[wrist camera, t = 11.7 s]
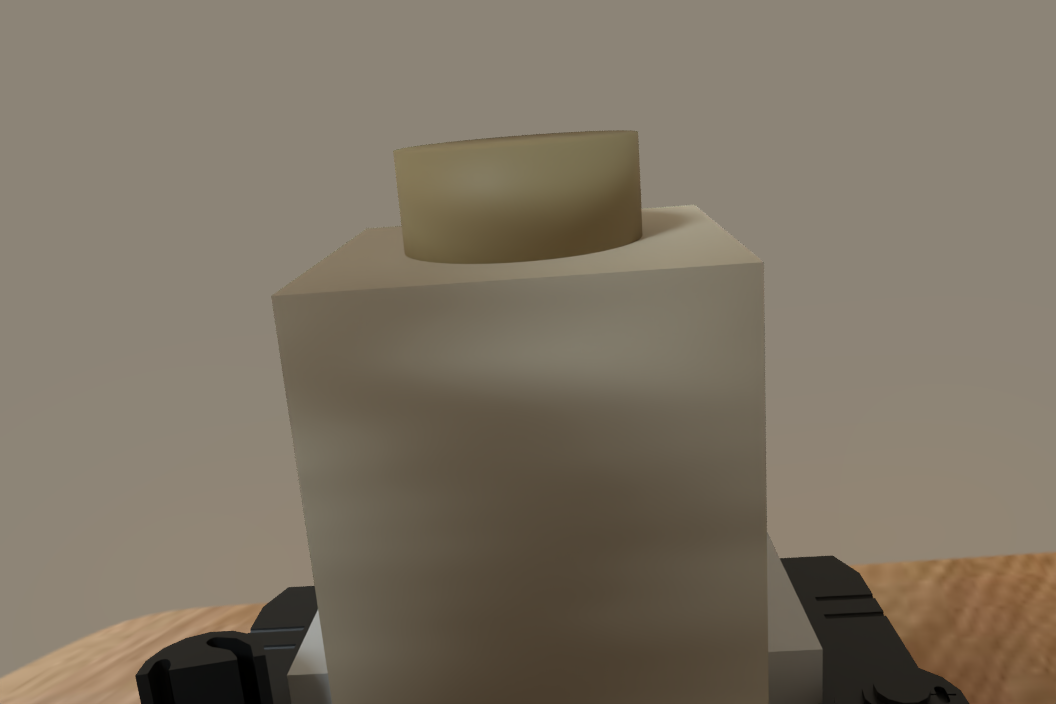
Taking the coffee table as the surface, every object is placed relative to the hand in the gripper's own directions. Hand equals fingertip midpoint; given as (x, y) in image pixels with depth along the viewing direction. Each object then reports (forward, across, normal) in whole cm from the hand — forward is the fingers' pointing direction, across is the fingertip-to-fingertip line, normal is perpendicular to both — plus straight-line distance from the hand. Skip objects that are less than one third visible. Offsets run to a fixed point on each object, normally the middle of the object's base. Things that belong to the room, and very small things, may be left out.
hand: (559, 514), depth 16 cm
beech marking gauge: (-5, 0, -8) cm, 9 cm away
